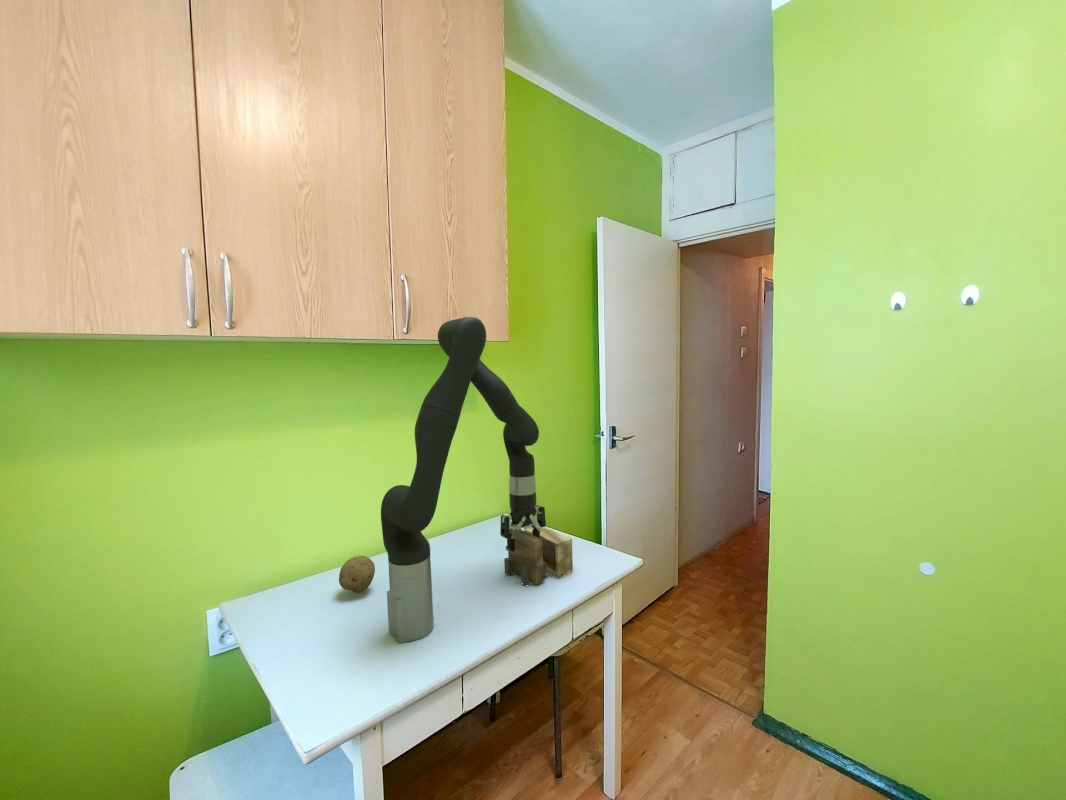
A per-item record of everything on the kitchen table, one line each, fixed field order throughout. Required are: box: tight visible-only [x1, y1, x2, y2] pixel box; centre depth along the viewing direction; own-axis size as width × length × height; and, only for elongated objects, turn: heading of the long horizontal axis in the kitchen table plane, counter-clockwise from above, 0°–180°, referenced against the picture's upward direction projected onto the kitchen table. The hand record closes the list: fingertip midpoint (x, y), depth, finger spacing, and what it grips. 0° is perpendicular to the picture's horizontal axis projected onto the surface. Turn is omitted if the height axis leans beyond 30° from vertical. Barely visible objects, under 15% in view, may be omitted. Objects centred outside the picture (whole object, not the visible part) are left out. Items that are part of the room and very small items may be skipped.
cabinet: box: [503, 526, 574, 586], centre depth 133 cm, size 15×15×10 cm
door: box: [505, 528, 544, 586], centre depth 130 cm, size 4×13×12 cm, turn 38°
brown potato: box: [338, 555, 376, 594], centre depth 123 cm, size 9×9×10 cm
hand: (524, 546), depth 130 cm, fingers open, 8 cm apart
